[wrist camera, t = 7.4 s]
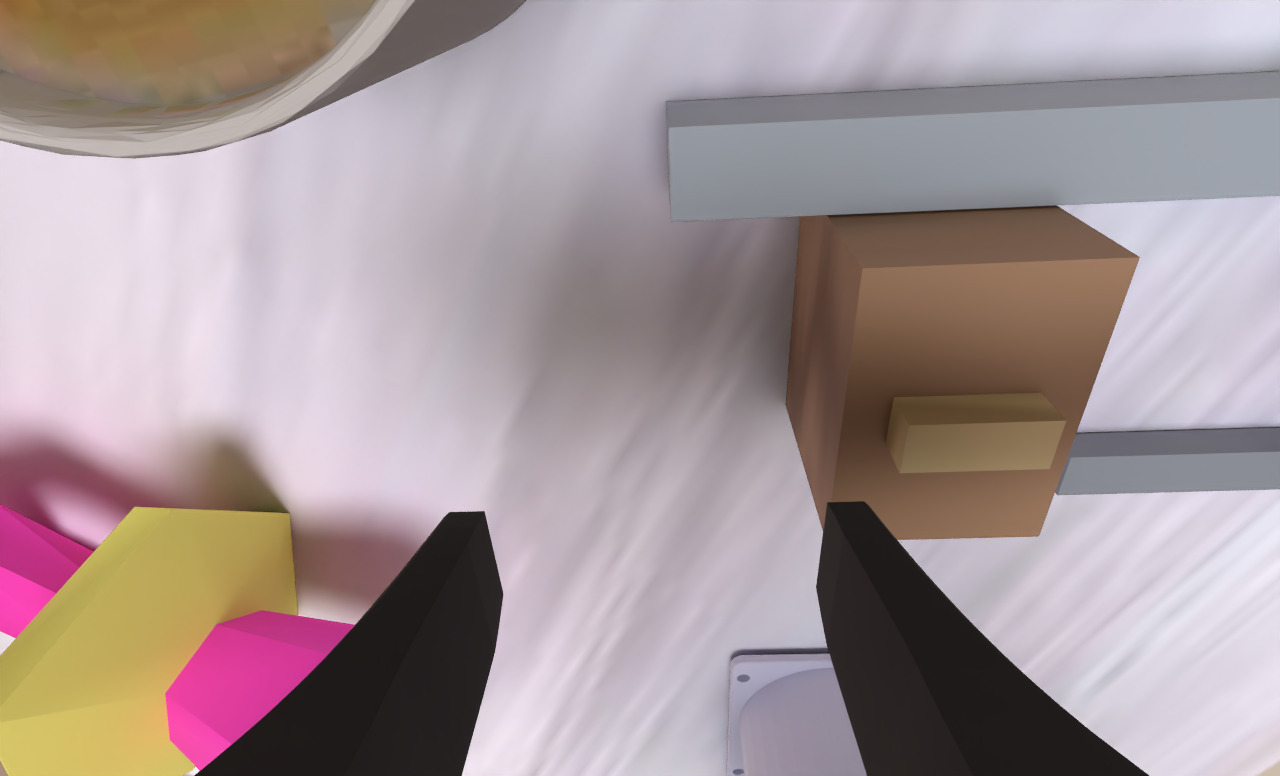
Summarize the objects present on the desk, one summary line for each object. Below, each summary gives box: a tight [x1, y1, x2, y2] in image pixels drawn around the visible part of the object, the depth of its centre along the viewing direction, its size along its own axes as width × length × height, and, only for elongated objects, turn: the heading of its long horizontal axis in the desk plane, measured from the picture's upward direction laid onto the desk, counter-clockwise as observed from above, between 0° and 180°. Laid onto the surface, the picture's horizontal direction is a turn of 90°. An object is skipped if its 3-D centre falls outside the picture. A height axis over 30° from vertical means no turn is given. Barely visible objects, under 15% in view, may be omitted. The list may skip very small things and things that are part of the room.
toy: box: [0, 504, 355, 776], centre depth 21 cm, size 10×18×10 cm, turn 78°
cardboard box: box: [786, 205, 1140, 540], centre depth 17 cm, size 7×5×7 cm
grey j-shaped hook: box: [666, 71, 1280, 495], centre depth 18 cm, size 12×21×3 cm, turn 93°
